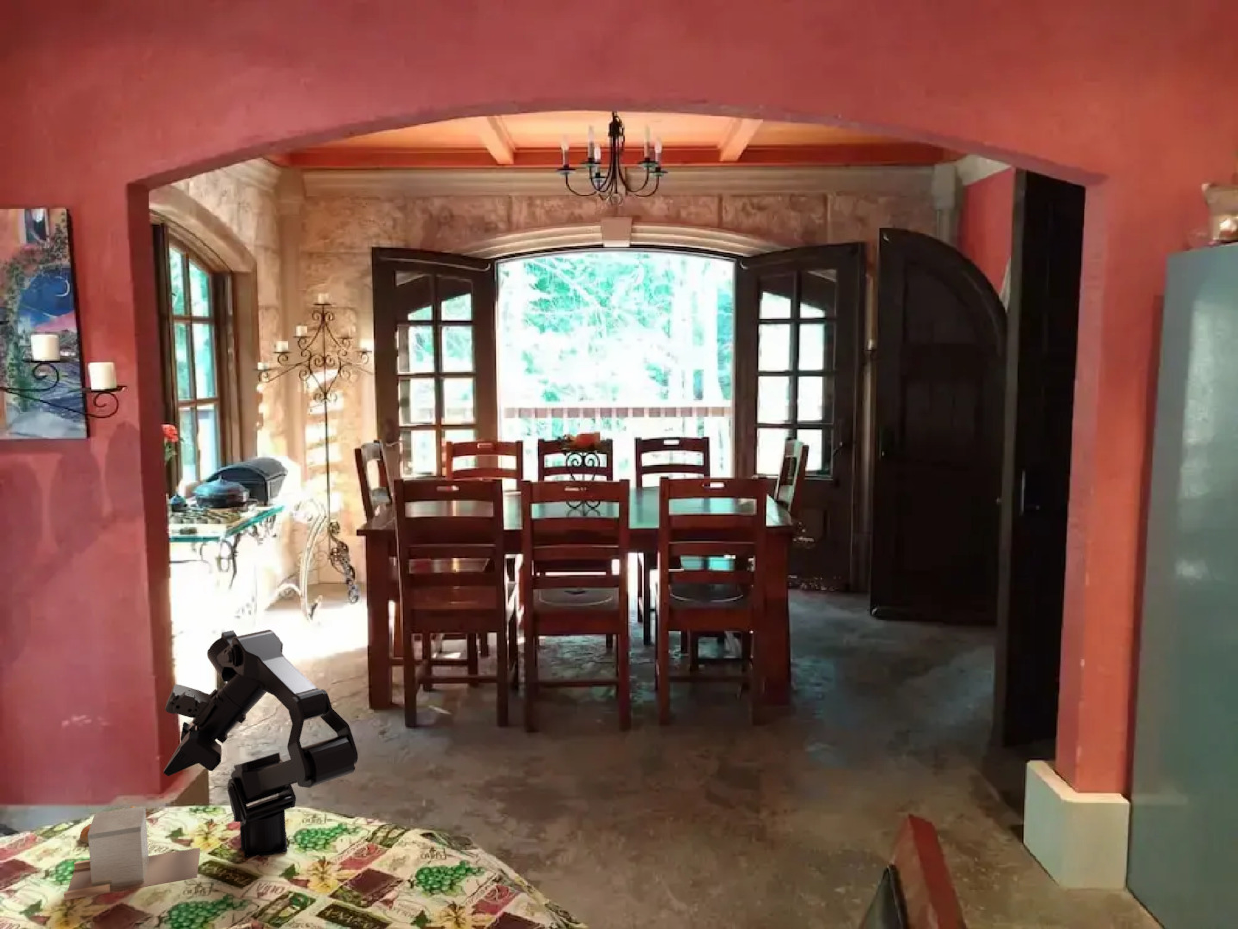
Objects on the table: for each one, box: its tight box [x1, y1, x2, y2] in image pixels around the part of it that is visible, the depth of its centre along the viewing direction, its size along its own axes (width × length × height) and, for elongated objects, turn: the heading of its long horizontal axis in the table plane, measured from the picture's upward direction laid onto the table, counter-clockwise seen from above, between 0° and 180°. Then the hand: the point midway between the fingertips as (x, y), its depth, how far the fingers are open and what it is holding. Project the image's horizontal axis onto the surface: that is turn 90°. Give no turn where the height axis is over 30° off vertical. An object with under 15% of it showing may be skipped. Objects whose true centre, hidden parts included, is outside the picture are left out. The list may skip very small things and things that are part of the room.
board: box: [63, 847, 201, 901], centre depth 152 cm, size 18×9×1 cm, turn 110°
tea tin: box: [88, 805, 149, 888], centre depth 151 cm, size 7×7×9 cm
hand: (165, 773), depth 156 cm, fingers closed
